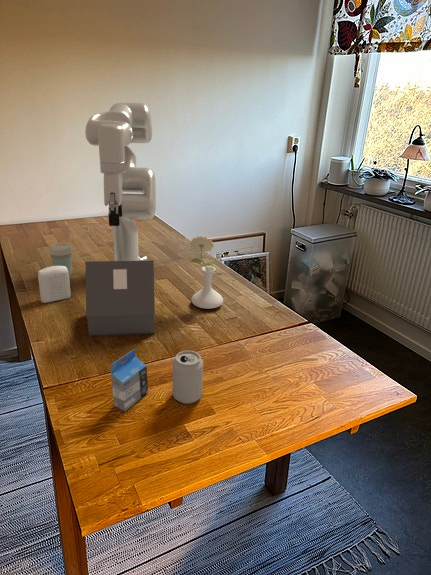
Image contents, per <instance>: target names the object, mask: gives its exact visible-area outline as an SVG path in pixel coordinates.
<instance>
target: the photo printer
mask: <svg viewBox="0 0 431 575" xmlns="http://www.w3.org/2000/svg"><path fill="white" fill-rule="evenodd" d="M37 274H38V275H37V278H38V287H39V294H40V302H41V303H43V304H46V303H52V302H56V301H62V300H66V299H70V298H71V297H72V296H71V287H70V286H71V284H70V277H69V273H68V270H67V267H66V266H53V265H52V266H47V267H44V268H42V269H40V270H38V272H37Z"/></svg>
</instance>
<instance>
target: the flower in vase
mask: <svg viewBox="0 0 431 575" xmlns="http://www.w3.org/2000/svg"><path fill="white" fill-rule="evenodd" d="M189 245H190V247H191V248H192V249H193V250H194V251H196V252H199V253H200V258H198V257H195V258H192V259H191V260H190V261H189V262H190V263H195V264H200V263H202V264H203V265H204V266H202V267H201V269H200V270H201V271H202V273H203V275H204V285H203V288H201V289H200V290H198V291H196V292H195V293H194V294H193V295H192V296H191V298H190V299H191V300H190V301H191V303H192V304H193V305H194V306H195V307H197V308H200V309H211V310H212V309H215V308H219V307H220V306H222V304H223V303H224V299H223V296H222V295H221V294H220V293H219V292H217V291H216V290H215V289H213V287H212V279H213V278H212V277H213V274H214V273H215V271H216V270H217V269H216V267H215V266H212V265H213V264H215V262H216V260H217V259H216V258H215V259H210V260H208V261H207V262H206V264H205V262H204V261H203V253H205V252H206V253H208V252H210V251H212V249H213V248H214V246H215V245H214V243H213V240H212V239H210V238H207V236H196V237H193V239H191V240H190V242H189Z"/></svg>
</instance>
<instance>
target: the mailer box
mask: <svg viewBox="0 0 431 575" xmlns="http://www.w3.org/2000/svg"><path fill="white" fill-rule="evenodd" d="M86 320H87V330H88V337H108V336H109V337H110V336H132V335H133V336H135V335H155V314H150V315H119V316H89V317H86Z"/></svg>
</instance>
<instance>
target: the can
mask: <svg viewBox="0 0 431 575" xmlns="http://www.w3.org/2000/svg"><path fill="white" fill-rule="evenodd" d="M203 373H204V360H203V358H202V357H201V354H199V353H198V352H197V351H193V350H183V351H182V350H181V351H179V352H178V353H177V354H176V355H175V357H174V359H173V360H172V396H173V398H174V399H175V400H176V401H178V402H180V403H182V404H193V403H195V402H197V401H199V400H200V399H201V398H202V396H203V382H204V381H203V379H204V378H203V376H204V374H203Z"/></svg>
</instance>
